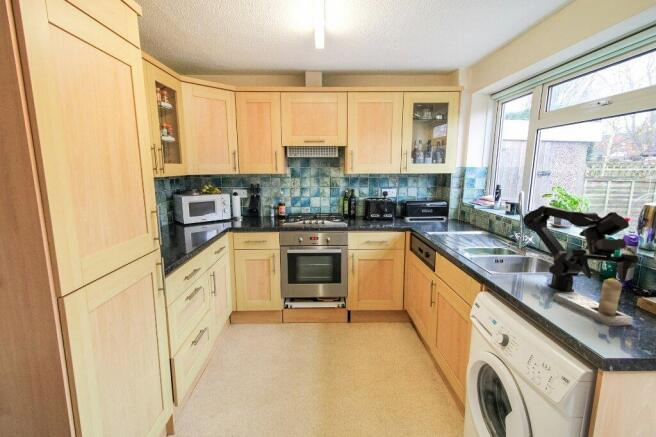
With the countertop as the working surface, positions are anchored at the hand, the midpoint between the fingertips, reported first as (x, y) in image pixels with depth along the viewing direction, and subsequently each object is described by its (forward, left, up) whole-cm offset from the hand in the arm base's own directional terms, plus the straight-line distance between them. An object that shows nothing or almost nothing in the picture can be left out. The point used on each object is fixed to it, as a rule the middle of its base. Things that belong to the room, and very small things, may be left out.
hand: (606, 280), depth 101 cm
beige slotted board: (-2, -2, -12) cm, 13 cm away
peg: (+3, -2, -12) cm, 13 cm away
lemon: (-11, +19, -13) cm, 26 cm away
